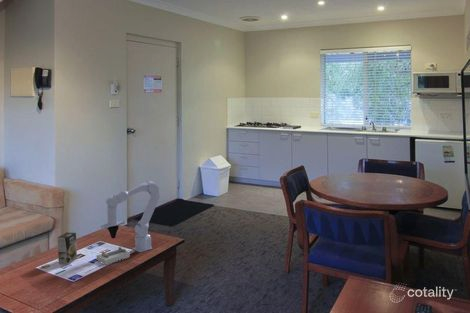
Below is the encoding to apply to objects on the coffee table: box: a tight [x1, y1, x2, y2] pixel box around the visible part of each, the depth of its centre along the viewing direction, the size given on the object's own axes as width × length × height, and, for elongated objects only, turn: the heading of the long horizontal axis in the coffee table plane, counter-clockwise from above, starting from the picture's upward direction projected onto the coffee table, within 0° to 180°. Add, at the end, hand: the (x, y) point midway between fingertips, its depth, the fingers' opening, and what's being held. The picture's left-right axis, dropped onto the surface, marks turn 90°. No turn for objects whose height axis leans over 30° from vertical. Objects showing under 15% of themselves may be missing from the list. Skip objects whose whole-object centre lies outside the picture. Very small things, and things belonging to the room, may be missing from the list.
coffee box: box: [57, 232, 78, 265], centre depth 231 cm, size 9×6×16 cm
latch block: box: [96, 247, 131, 265], centre depth 236 cm, size 16×10×5 cm, turn 138°
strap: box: [103, 248, 124, 257], centre depth 236 cm, size 12×3×2 cm, turn 138°
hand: (113, 237), depth 242 cm, fingers closed
